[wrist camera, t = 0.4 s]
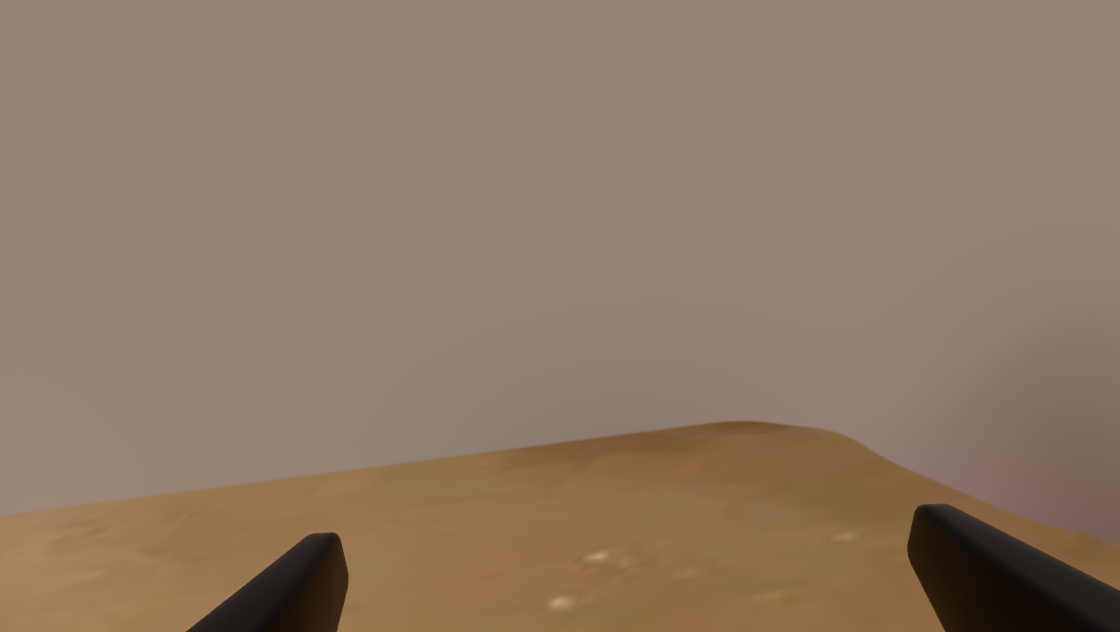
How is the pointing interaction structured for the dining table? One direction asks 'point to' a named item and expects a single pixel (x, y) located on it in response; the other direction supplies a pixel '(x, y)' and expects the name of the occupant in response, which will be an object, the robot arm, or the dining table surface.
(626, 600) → the dining table surface
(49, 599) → the dining table surface
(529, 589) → the dining table surface
